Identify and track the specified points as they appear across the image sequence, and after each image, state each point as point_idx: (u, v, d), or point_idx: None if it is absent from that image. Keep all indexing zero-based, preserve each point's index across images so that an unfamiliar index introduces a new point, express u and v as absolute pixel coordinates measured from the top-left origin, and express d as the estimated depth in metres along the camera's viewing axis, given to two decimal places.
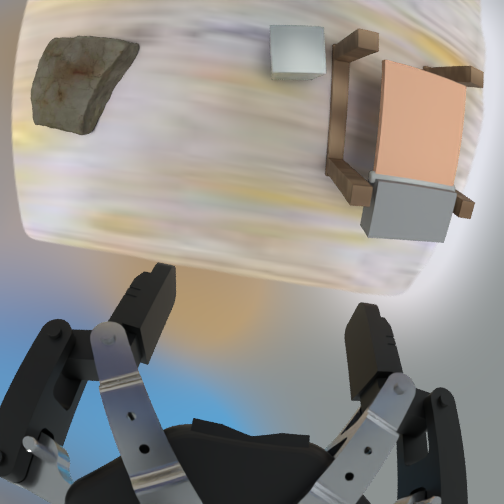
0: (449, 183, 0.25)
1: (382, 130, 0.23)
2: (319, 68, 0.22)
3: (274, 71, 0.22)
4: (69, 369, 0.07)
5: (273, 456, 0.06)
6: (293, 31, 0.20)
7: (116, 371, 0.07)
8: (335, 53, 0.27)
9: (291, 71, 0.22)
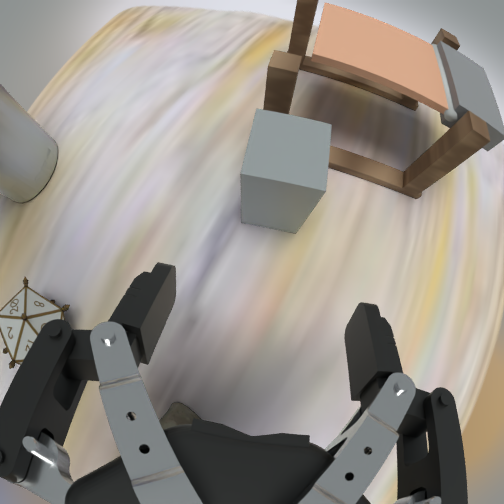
0: (431, 47, 0.18)
1: (402, 84, 0.16)
2: (323, 129, 0.17)
3: (324, 188, 0.16)
4: (69, 369, 0.07)
5: (273, 456, 0.06)
6: (259, 145, 0.16)
7: (116, 371, 0.07)
8: None
9: (326, 165, 0.16)
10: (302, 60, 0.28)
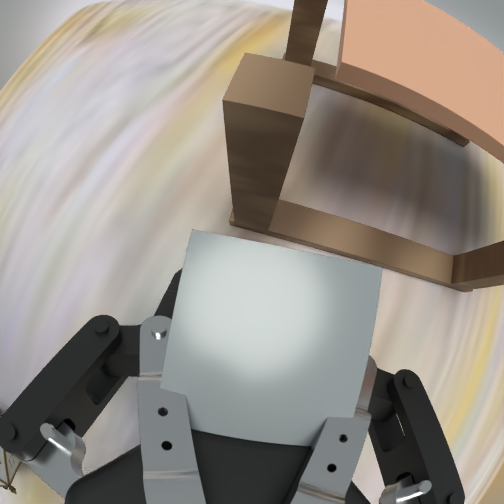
0: None
1: None
2: (363, 287, 0.07)
3: None
4: (109, 366, 0.08)
5: (273, 456, 0.06)
6: (194, 349, 0.06)
7: (159, 365, 0.07)
8: (254, 222, 0.16)
9: (356, 389, 0.06)
10: None
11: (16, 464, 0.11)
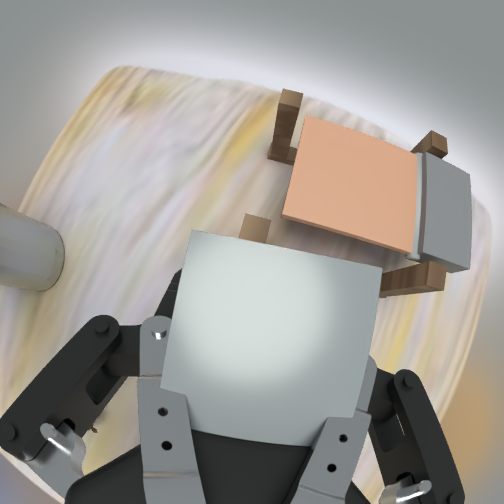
0: (415, 159, 0.23)
1: (368, 236, 0.22)
2: (362, 288, 0.07)
3: None
4: (109, 366, 0.08)
5: (273, 456, 0.06)
6: (194, 349, 0.06)
7: (159, 365, 0.07)
8: None
9: (356, 389, 0.06)
10: (285, 156, 0.33)
11: None
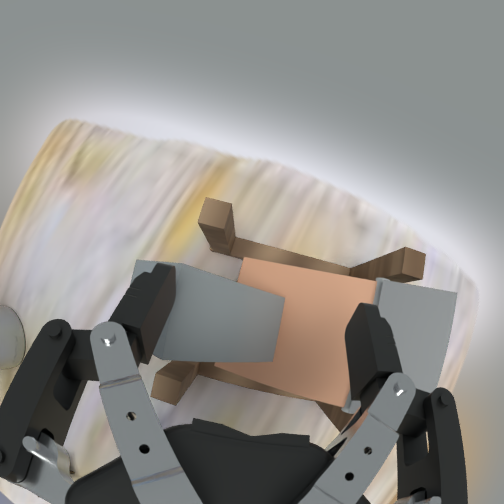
0: (372, 288, 0.20)
1: (291, 390, 0.20)
2: None
3: (162, 355, 0.13)
4: (69, 369, 0.07)
5: (273, 456, 0.06)
6: None
7: (116, 371, 0.07)
8: None
9: (167, 326, 0.14)
10: (228, 252, 0.30)
11: None
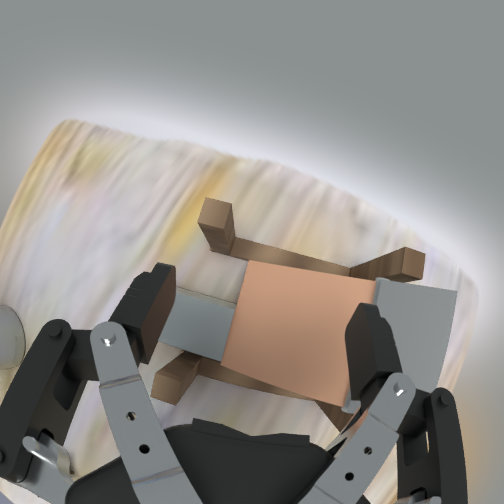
0: (372, 288, 0.20)
1: (292, 389, 0.21)
2: None
3: None
4: (69, 369, 0.07)
5: (273, 456, 0.06)
6: None
7: (116, 371, 0.07)
8: None
9: None
10: (228, 252, 0.30)
11: None
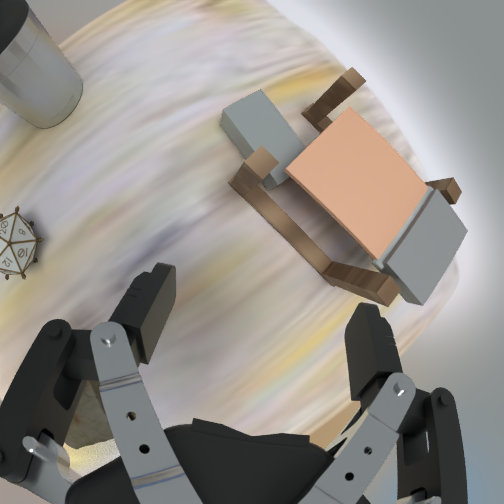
0: (424, 189, 0.25)
1: (346, 224, 0.24)
2: None
3: (224, 109, 0.27)
4: (69, 369, 0.07)
5: (273, 456, 0.06)
6: None
7: (116, 371, 0.07)
8: (239, 189, 0.31)
9: (236, 102, 0.28)
10: (318, 121, 0.32)
11: (30, 261, 0.27)
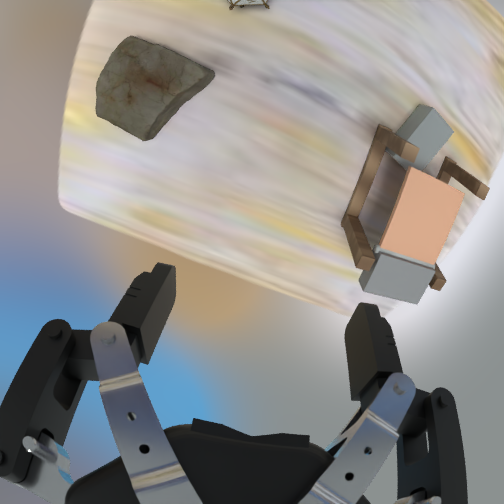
0: (431, 262, 0.36)
1: (393, 218, 0.34)
2: None
3: (433, 108, 0.30)
4: (69, 369, 0.07)
5: (273, 456, 0.06)
6: None
7: (116, 371, 0.07)
8: (379, 135, 0.36)
9: (440, 116, 0.30)
10: (445, 170, 0.37)
11: None
